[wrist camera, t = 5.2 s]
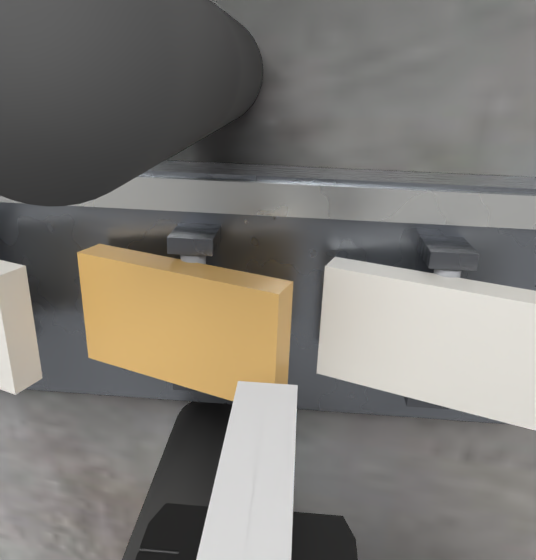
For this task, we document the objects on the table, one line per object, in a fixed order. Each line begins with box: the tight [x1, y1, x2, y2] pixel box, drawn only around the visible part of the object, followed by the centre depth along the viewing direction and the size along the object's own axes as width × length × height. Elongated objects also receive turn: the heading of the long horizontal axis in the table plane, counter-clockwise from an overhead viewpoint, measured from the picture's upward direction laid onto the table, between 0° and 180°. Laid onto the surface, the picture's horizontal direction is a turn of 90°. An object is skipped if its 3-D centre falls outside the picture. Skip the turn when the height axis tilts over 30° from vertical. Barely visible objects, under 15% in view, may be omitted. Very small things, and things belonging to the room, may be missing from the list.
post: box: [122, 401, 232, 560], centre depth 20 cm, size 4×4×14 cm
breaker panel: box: [0, 160, 536, 424], centre depth 21 cm, size 10×28×4 cm, turn 88°
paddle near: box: [317, 257, 536, 431], centre depth 18 cm, size 5×8×2 cm, turn 88°
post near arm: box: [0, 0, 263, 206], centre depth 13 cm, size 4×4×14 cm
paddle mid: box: [77, 244, 293, 401], centre depth 19 cm, size 5×8×2 cm, turn 88°
